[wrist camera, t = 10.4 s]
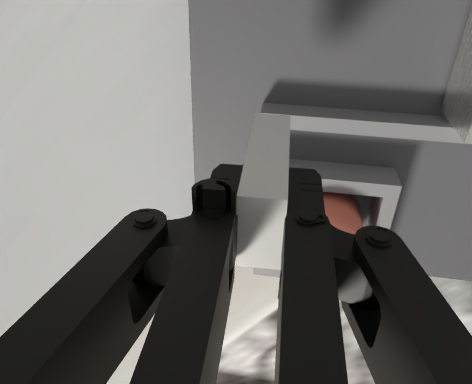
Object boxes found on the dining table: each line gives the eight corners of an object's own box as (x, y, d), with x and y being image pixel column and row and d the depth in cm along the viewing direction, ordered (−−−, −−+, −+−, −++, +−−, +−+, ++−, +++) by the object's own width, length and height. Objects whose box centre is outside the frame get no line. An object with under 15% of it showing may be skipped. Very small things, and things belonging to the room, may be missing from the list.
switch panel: (205, 223, 32) (184, 285, 26) (195, -336, 17) (139, -466, 11) (541, 260, 29) (594, 336, 24) (891, -366, 14) (1265, -553, 8)
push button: (276, 242, 28) (273, 274, 25) (283, 178, 25) (280, 206, 22) (353, 251, 27) (357, 283, 25) (367, 186, 24) (374, 215, 22)
